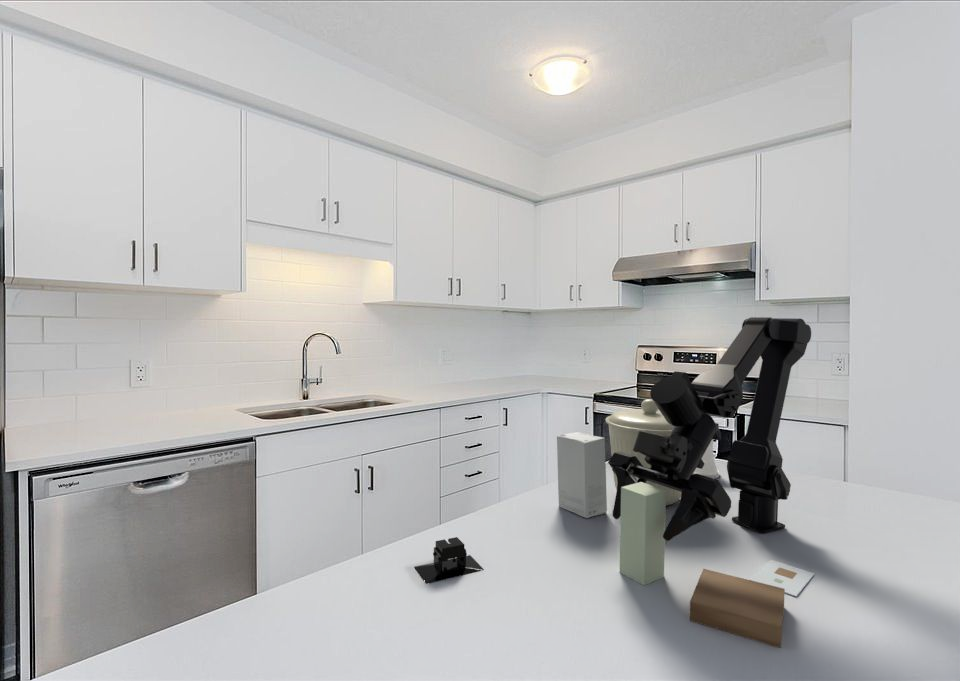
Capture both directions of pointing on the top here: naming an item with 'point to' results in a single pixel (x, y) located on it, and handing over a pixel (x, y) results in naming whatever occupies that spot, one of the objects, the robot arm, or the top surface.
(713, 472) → the vase
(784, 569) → the blueprint card
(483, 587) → the top surface
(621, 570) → the pillar
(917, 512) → the top surface
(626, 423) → the canister
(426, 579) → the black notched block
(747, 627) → the foundation slab
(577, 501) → the skincare box
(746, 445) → the robot arm
